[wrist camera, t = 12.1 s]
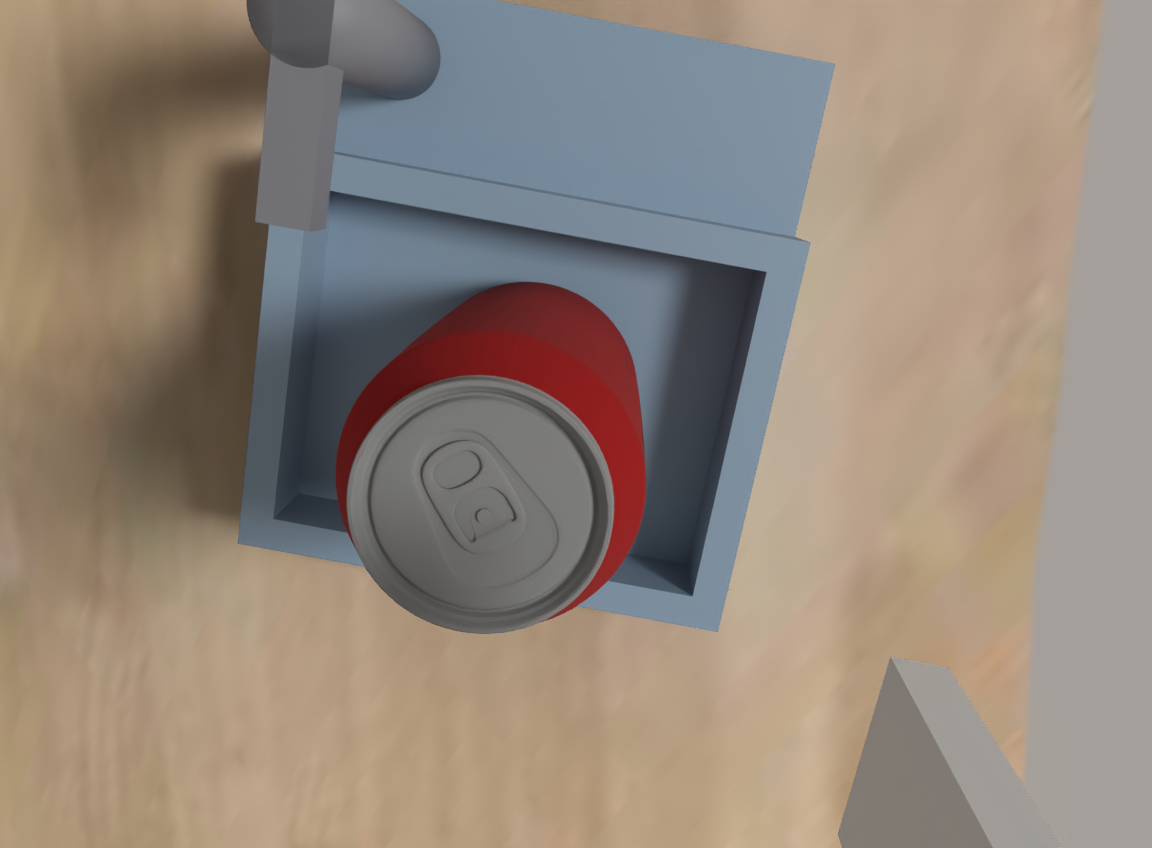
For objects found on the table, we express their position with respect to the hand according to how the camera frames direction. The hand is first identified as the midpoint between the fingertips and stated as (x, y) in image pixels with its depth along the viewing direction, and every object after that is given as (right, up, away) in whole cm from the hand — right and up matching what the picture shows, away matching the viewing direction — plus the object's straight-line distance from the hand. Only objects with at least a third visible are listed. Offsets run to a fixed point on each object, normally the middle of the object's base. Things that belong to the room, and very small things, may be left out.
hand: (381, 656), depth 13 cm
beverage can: (+1, +4, +18) cm, 19 cm away
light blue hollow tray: (+1, +7, +19) cm, 20 cm away
